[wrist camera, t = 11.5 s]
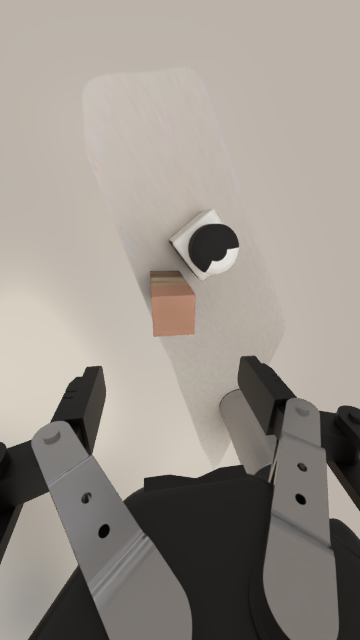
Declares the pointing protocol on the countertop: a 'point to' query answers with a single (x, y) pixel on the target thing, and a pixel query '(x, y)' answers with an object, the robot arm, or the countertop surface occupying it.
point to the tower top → (168, 281)
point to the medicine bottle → (206, 245)
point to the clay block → (173, 310)
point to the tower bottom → (165, 274)
